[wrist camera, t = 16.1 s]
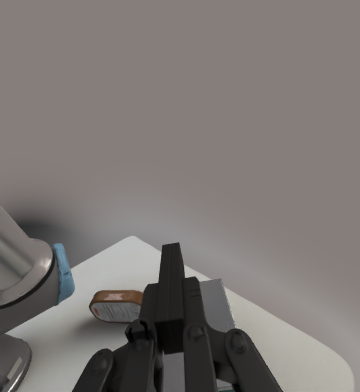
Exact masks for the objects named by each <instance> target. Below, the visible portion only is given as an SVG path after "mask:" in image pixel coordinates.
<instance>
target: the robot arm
mask: <svg viewBox="0 0 360 392" xmlns="http://www.w3.org/2000/svg"><path fill="white" fill-rule="evenodd" d="M74 290H75V285H74V281H73V277H72V274H71V270H70V267H69V263H68V260H67V256H66V253H65V250H64V247H63V245H62V244H60V243H58V244H53V245H51V246H49V245H48V244H47V243H46V242H44V241H42V240H39V239H31V238H28V236H27V235H26V234H25V233H24V232H23V231H22V230H21V229H20V228H19V226H18V225H17V224H16V223H15V222H14V220H13V219H12V218H11V217H10V216H9V215H8V214H7V212H6V211H5V210H4V209H3V208H2V207H1V206H0V392H15V391H16V390H17V388H18V387H19V385H20V384H21V382H22V380H23V379H24V377H25V375H26V373H27V371H28V368H29V366H30V362H31V358H32V351H31V348H30V347H29V345H28V344H27V343H26V342H25V341H23V340H22V339H18V338H15V337H12V336H10V335H7V334H4V333H6V332H8V331H10V330H11V329H13V328H15V327H17V326H19V325H20V324H22V323H24V322H26V321H28V320H30V319H31V318H33V317H35V316H37V315H39V314H40V313H42V312H44V311H46V310H48V309H49V308H51V307H53V306H57V305H58V304H59V303H60V302H62V301H63V300H65V299H67V298H68V297H70V296H71V295H72V294H73V292H74ZM125 335H126V337H127V339H128V343H127V344H125V345H124V346H122V347H120V348H118V349H117V350H115V351H113V352H112V351H111V350H109V349H102V350H100V351H98V352H97V353H95V354H94V355H93V356H92V358H91V359H90V360H89V362H88V363H87V365H86V367H85V369H84V371H83V372H82V374H81V376H80V378H79V380H78V382H77V383H76V385H75V387H74V389H73V391H72V392H163V382H164V364H163V361H162V357H163V352H164V355H168V354H175V353H182V352H183V353H184V378H185V392H218V387H217V381H216V379H218V380H221V381H224V382H227V383H230V384H231V386H232V388H233V391H234V392H283V391H282V389H281V388H280V386H279V384H278V383H277V381H276V380H275V378H274V376H273V375H272V373H271V371H270V370H269V368H268V366H267V365H266V363H265V361H264V360H263V358H262V357H261V355H260V353H259V352H258V350H257V348H256V347H255V345H254V343H253V342H252V340H251V339H250V337H249V336H248V335H247V334H246V333H245V332H244V331H242V330H241V329H236V328H235V329H230V330H229V331H228V332H226V333H225V332H221V331H217V330H215V329H213V328H212V327H211V326H210V325H209V324H208V323H207V321H206V317H205V312H204V306H203V300H202V294H201V289H200V283H199V281H198V279H197V278H196V276H195V277H189V278H185V272H184V264H183V259H182V254H181V249H180V244H179V242H178V243H173V244H166V245H163V246H162V254H161V263H160V272H159V281H158V283H154V284H148V285H147V287H146V288H145V290H144V293H143V298H142V303H141V308H140V313H139V318H138V319H135V320H134V321H133V322H131V323H130V324H129V326H128V327H127V329H126V331H125Z"/></svg>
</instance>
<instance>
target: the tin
mask: <svg viewBox="0 0 360 392" xmlns="http://www.w3.org/2000/svg"><path fill="white" fill-rule="evenodd" d="M142 298H143V293H142V292H140V291H136V290H102V291H98V292H97V293H96V294H95V295H94V297H93V299H92V301H91V303H90V305H89V309H90V311H91V312H92V314H93V315H94V316H95V317H96V318H97V319H99V320H102V321H105V322H115V323H131V322H133V321H134V320H135V319H138V318H139V313H140V308H141V303H142Z"/></svg>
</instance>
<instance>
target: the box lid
mask: <svg viewBox="0 0 360 392" xmlns="http://www.w3.org/2000/svg"><path fill="white" fill-rule="evenodd" d="M199 283H200V289H201V294H202V300H203V306H204V312H205V317H206V321H207V323H208V324H209V325H210V326H211V327H212V328H213V329H215V330H217V331H221V332H225V333H226V332H228V331H229V330H230V329H235V328H236V325H235V322H234V319H233V315H232V312H231V309H230V306H229V302H228V299H227V296H226V293H225V290H224V286H223V283H222V280H221V279H216V280H209V281H203V282H199ZM236 329H237V328H236ZM162 361H163V364H164V382H163V392H185V378H184V353H183V352H182V353H175V354H168V355H164V352H163V357H162ZM216 381H217V387H218V391H224V390H232V389H233V388H232V386H231V384H230V383H227V382H224V381H221V380H218V379H216Z"/></svg>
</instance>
